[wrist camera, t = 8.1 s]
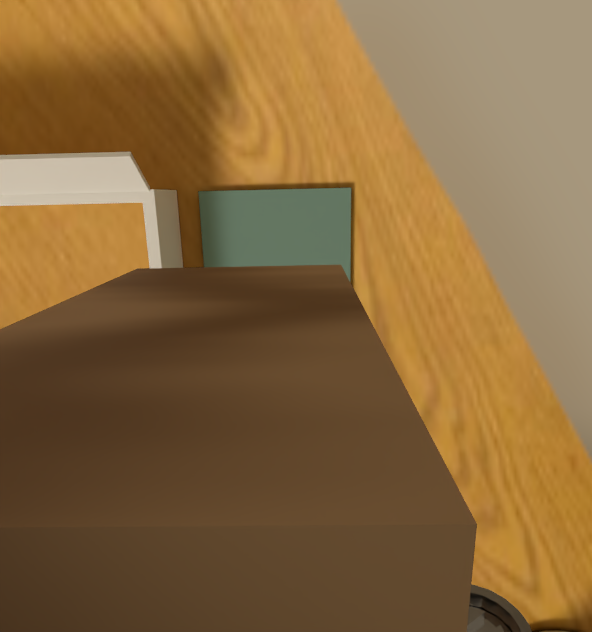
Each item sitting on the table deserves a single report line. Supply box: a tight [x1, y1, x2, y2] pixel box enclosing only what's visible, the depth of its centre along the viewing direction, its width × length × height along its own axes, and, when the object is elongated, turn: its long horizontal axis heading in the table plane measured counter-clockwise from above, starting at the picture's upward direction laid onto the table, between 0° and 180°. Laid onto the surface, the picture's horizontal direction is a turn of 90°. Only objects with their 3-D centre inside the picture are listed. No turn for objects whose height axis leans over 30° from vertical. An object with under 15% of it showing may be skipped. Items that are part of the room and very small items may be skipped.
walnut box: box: [0, 265, 477, 632], centre depth 8 cm, size 5×9×9 cm, turn 1°
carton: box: [0, 152, 183, 268], centre depth 24 cm, size 15×16×6 cm
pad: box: [198, 188, 351, 281], centre depth 27 cm, size 8×13×1 cm, turn 1°
